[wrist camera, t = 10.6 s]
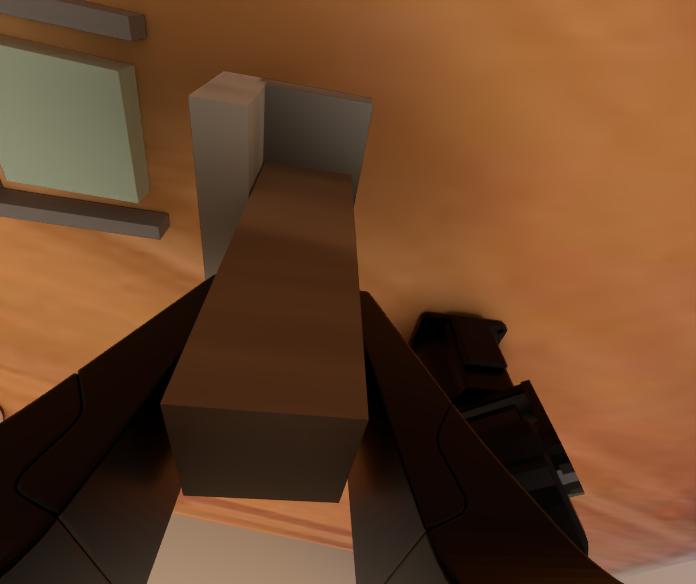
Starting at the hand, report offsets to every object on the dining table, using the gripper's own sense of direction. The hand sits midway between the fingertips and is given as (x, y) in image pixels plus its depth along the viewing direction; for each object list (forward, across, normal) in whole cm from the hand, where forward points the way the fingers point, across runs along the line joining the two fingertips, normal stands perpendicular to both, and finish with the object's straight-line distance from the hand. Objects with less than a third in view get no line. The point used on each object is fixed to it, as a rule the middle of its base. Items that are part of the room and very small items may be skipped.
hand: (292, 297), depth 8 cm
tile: (+13, +12, +1) cm, 18 cm away
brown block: (+5, +1, 0) cm, 5 cm away
